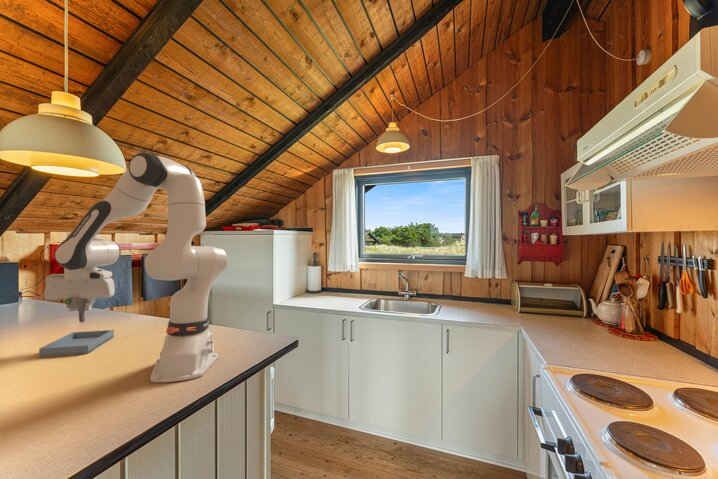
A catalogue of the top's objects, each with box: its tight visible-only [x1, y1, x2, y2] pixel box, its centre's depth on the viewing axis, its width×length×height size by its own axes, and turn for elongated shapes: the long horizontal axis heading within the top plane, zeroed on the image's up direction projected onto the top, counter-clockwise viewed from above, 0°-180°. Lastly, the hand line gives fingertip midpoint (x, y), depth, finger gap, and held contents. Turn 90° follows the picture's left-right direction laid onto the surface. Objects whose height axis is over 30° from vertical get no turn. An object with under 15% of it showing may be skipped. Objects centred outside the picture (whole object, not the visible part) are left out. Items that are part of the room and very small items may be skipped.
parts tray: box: [38, 329, 115, 358], centre depth 110 cm, size 18×14×3 cm
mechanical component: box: [64, 297, 90, 323], centre depth 111 cm, size 3×10×10 cm, turn 179°
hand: (80, 310), depth 110 cm, fingers closed on mechanical component, 3 cm apart
